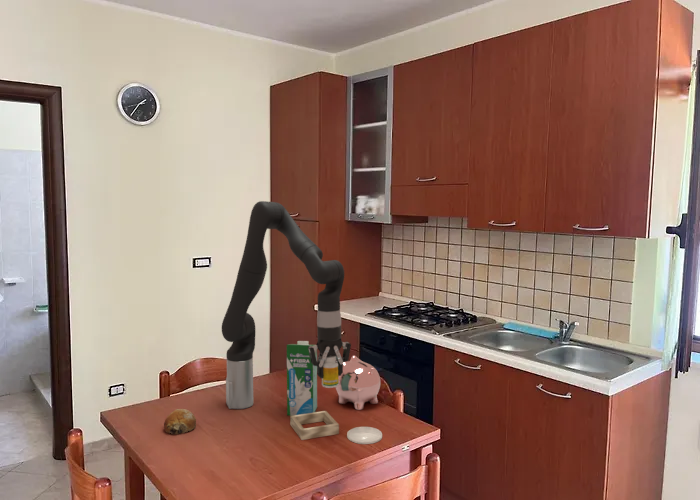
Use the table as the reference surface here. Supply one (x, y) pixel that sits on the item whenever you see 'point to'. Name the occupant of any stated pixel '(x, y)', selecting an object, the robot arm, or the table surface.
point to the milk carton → (301, 380)
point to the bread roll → (179, 422)
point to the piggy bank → (358, 383)
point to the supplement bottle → (330, 372)
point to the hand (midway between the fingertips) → (330, 376)
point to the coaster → (364, 435)
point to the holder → (317, 431)
